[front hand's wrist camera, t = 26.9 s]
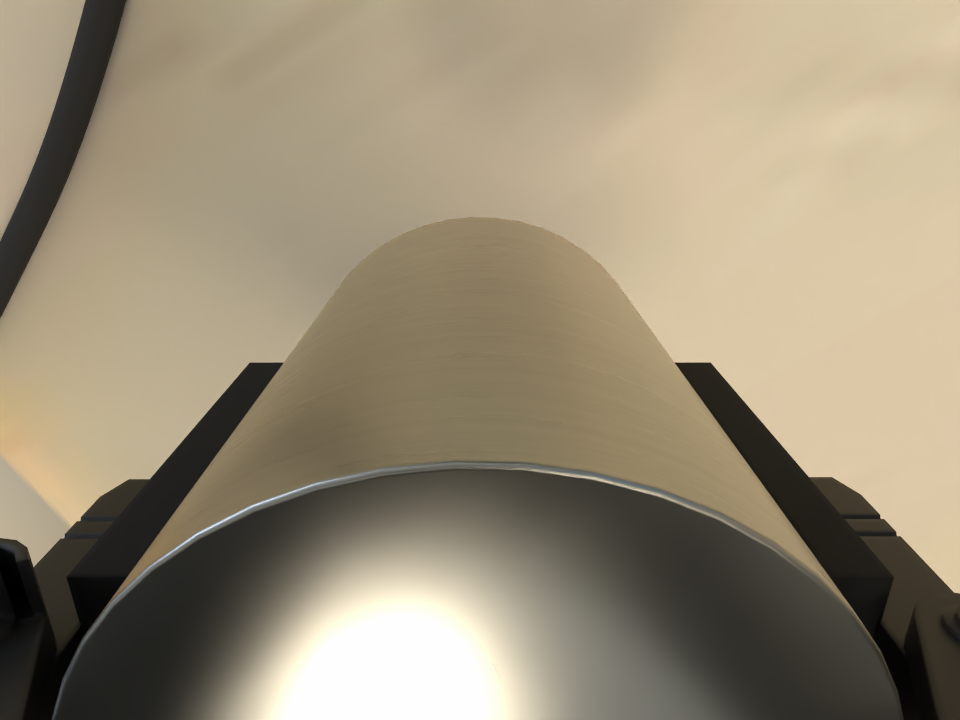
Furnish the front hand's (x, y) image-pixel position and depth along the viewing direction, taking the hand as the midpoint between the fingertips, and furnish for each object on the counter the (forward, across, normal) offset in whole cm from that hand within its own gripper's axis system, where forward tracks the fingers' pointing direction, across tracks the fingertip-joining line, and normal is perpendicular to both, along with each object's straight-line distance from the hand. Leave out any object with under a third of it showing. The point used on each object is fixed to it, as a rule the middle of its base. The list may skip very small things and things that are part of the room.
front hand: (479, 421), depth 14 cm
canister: (+2, 0, 0) cm, 2 cm away
